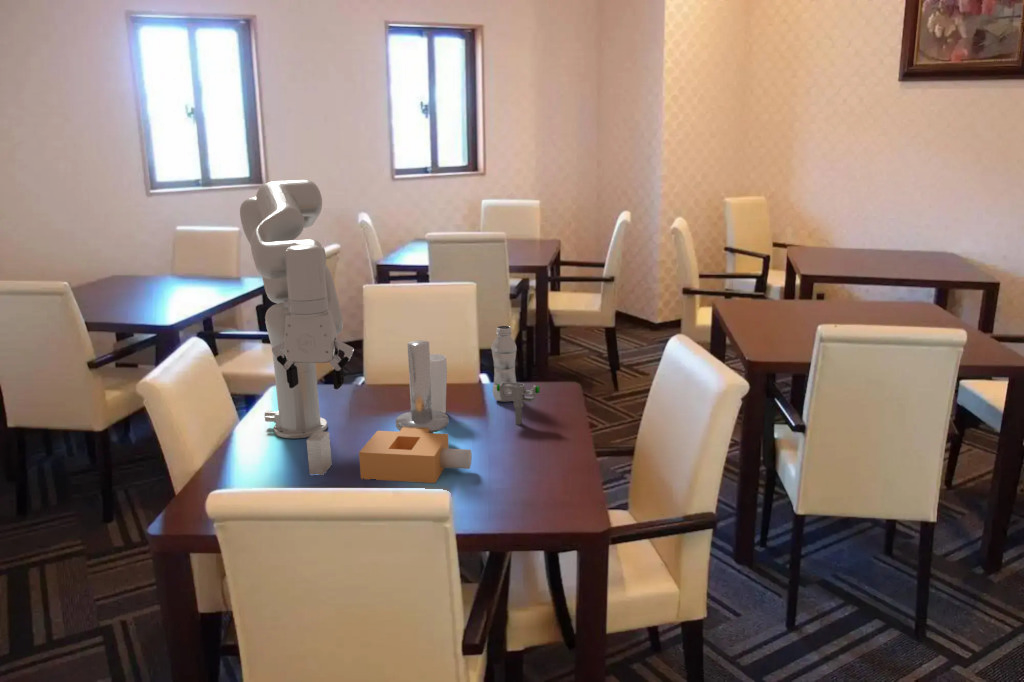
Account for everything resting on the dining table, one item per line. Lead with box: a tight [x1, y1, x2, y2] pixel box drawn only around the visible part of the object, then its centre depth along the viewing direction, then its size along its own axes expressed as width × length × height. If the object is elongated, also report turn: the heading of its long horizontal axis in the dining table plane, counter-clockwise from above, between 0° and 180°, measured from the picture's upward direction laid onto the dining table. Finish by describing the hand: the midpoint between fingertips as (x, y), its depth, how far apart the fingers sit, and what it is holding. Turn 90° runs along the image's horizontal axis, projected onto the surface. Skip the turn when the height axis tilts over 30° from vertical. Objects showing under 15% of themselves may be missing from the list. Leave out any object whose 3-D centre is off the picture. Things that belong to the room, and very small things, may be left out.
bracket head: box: [358, 427, 473, 484], centre depth 173 cm, size 22×15×6 cm
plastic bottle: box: [490, 325, 517, 403], centre depth 210 cm, size 6×7×20 cm
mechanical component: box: [497, 382, 541, 426], centre depth 195 cm, size 3×10×10 cm, turn 78°
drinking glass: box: [430, 353, 448, 414], centre depth 202 cm, size 7×7×15 cm
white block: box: [306, 431, 333, 475], centre depth 171 cm, size 3×5×8 cm, turn 171°
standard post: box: [395, 340, 450, 433], centre depth 182 cm, size 12×12×24 cm
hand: (316, 386), depth 167 cm, fingers open, 9 cm apart
